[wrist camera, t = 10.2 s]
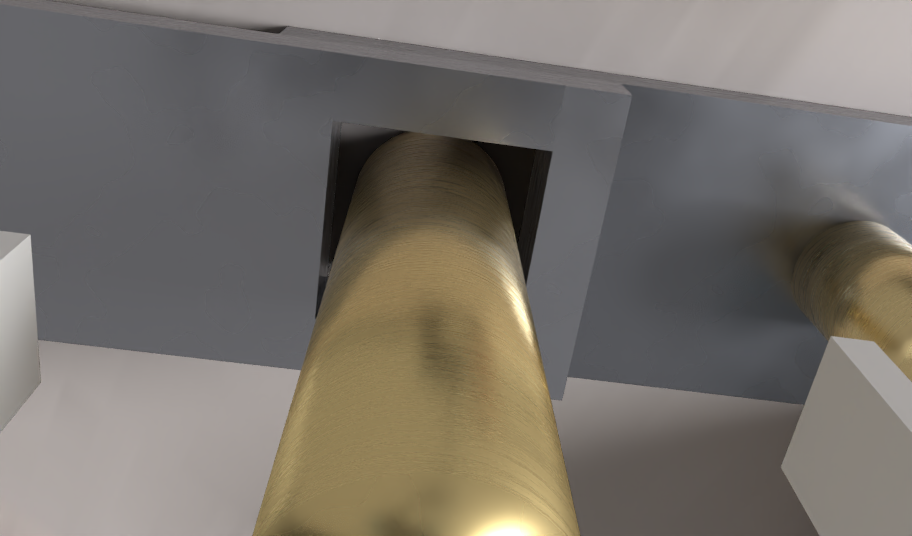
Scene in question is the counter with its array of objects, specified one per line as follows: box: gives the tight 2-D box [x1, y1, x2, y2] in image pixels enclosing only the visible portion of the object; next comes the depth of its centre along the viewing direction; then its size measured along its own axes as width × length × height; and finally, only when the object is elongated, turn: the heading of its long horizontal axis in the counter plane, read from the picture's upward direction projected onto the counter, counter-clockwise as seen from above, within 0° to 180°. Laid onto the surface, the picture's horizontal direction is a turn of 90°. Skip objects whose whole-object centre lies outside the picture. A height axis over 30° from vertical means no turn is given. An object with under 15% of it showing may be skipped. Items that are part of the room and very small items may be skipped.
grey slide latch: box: [0, 0, 912, 405], centre depth 20 cm, size 8×26×6 cm, turn 82°
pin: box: [252, 131, 580, 536], centre depth 16 cm, size 4×4×14 cm
